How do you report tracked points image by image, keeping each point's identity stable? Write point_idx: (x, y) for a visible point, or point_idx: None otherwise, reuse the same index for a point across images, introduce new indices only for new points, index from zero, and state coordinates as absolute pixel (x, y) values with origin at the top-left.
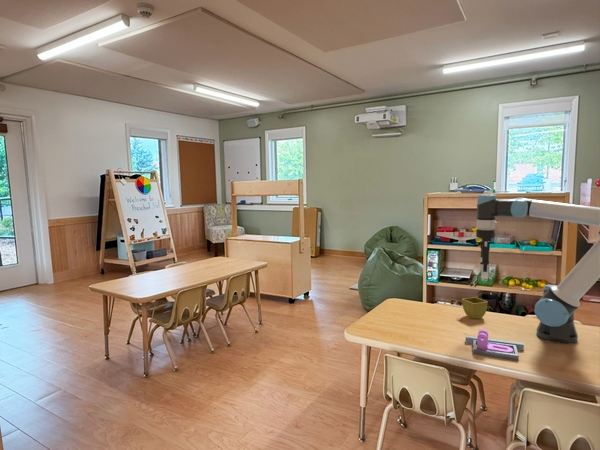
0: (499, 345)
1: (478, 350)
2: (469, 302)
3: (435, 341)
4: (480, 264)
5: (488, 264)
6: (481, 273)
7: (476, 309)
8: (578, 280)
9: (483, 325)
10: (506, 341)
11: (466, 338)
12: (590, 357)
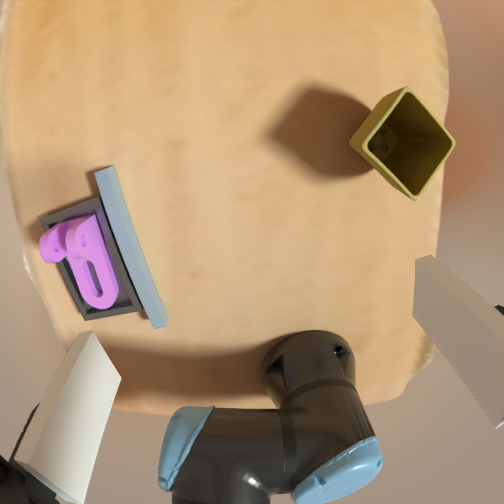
0: (106, 275)
1: (45, 231)
2: (377, 122)
3: (60, 92)
4: (467, 303)
5: (70, 501)
6: (58, 370)
7: (362, 154)
8: None
9: (303, 182)
10: (143, 289)
11: (96, 174)
12: None
